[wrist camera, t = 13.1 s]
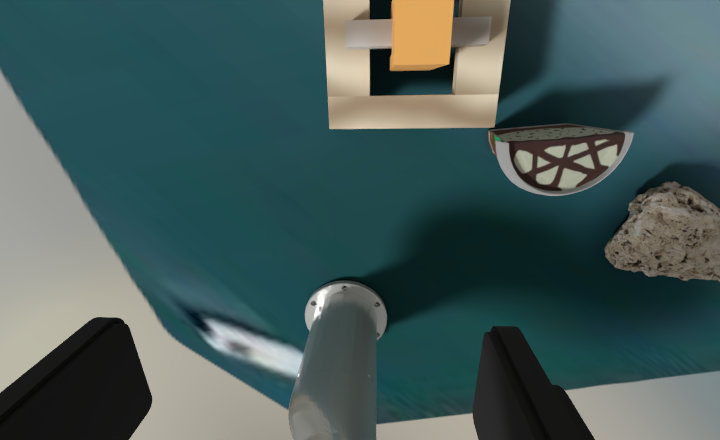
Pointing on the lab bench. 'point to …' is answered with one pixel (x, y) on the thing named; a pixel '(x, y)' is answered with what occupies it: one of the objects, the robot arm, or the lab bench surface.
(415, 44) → the tall wooden brick
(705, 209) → the pumice stone
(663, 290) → the lab bench surface
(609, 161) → the food container
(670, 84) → the lab bench surface
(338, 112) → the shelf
